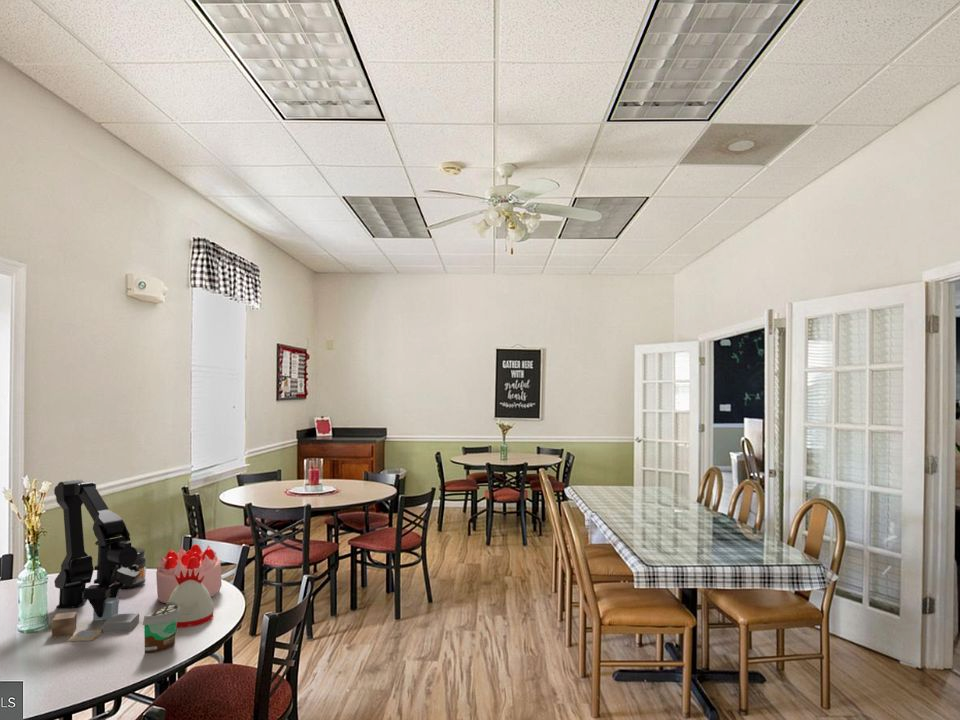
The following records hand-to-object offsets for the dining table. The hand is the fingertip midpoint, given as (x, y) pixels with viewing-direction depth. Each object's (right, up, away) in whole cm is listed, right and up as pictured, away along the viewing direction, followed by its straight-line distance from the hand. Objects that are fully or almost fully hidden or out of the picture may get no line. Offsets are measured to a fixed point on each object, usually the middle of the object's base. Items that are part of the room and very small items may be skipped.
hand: (106, 612), depth 187 cm
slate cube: (0, -1, 0) cm, 1 cm away
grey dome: (+25, -2, 0) cm, 25 cm away
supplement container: (-10, -3, +29) cm, 30 cm away
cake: (+16, -2, +20) cm, 26 cm away
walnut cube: (-4, -1, -13) cm, 13 cm away
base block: (+9, -2, -8) cm, 12 cm away
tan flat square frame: (+3, -1, -15) cm, 15 cm away
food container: (+28, -1, -20) cm, 35 cm away
